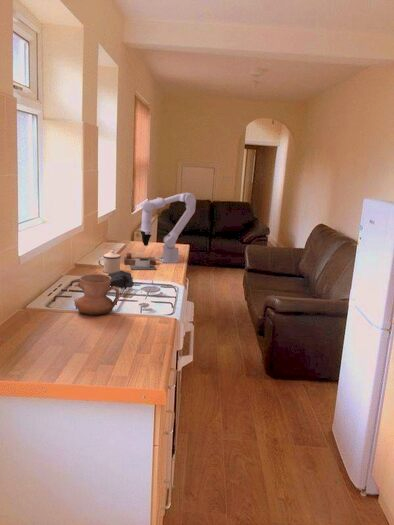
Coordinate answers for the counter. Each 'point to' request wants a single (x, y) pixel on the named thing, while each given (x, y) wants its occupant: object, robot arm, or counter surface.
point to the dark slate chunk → (121, 279)
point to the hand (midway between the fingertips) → (145, 244)
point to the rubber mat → (152, 267)
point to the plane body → (131, 260)
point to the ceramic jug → (95, 294)
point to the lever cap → (142, 263)
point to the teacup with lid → (111, 262)
